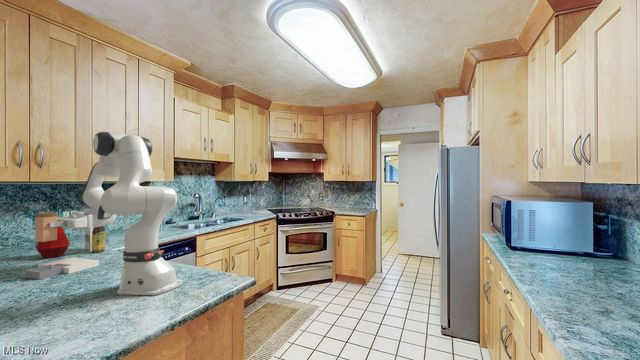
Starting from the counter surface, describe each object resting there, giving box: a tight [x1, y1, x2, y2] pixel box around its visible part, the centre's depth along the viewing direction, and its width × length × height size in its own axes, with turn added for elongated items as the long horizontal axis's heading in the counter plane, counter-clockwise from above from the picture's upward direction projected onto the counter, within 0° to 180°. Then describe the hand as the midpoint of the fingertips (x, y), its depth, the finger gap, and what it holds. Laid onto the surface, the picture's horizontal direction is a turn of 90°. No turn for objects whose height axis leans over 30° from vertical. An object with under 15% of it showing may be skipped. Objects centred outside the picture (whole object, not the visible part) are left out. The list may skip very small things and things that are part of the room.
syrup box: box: [84, 227, 94, 252], centre depth 168 cm, size 6×6×14 cm
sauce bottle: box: [91, 226, 107, 254], centre depth 161 cm, size 7×6×20 cm
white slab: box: [24, 256, 100, 280], centre depth 127 cm, size 20×22×3 cm
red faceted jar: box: [35, 227, 71, 259], centre depth 151 cm, size 16×14×20 cm
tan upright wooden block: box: [34, 212, 58, 243], centre depth 121 cm, size 5×5×12 cm
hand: (43, 224), depth 120 cm, fingers closed on tan upright wooden block, 5 cm apart
